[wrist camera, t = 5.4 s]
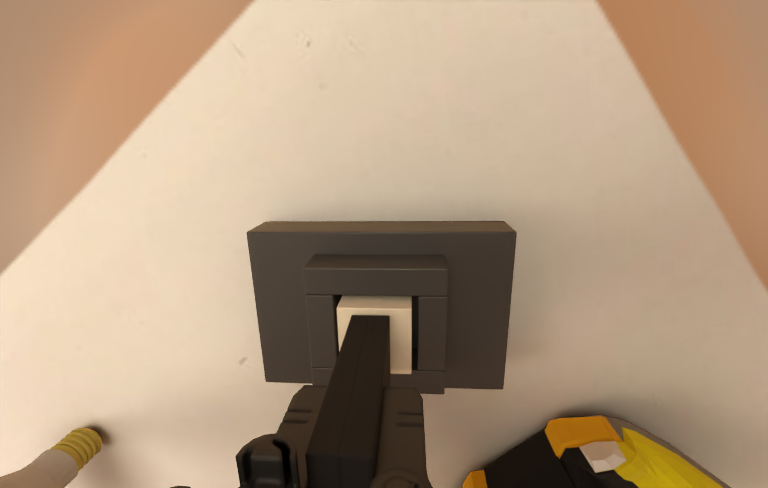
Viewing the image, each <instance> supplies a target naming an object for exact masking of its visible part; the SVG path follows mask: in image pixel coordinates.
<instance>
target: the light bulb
mask: <svg viewBox="0 0 768 488" xmlns="http://www.w3.org/2000/svg"><path fill="white" fill-rule="evenodd" d="M101 448H102V440H101V437H100V436H99V434H98V433H97V431H95V430H91V429H88V428H78V429H75V430H73V431H72V432H70V433H69V434H68V435H66V437H65V438H63V439H62V440H61V441H60V442H59V443H57V444H56V445H55V446H54V447H52V448H51V449H50V450H46V451H45V452H43V453H42V454H41V455H40V456H39V457H38V458H37V459H35V460H34V461H33V462H32V463H31V464H29V465H28V466H26V467H24V468H23V469H21V470H19V471H16V472H14V473H11V474H8V475H5V476H2V477H0V488H64V487H65V486H66V485H67V484H68V483H70V482H71V481H72V480H73V479H74V478H75V477H76V476H77V474H78V471H79V470H80V469H82V468H83V466H84V465H85V464H86V463H88V461H89V460H90V459H91V458H93V456H94V455H96V454H97V453H98V452H99V451H100V450H101Z"/></svg>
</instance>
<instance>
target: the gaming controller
mask: <svg viewBox="0 0 768 488" xmlns="http://www.w3.org/2000/svg"><path fill="white" fill-rule="evenodd" d="M462 488H731V487H729V486H728V485H727V484H725V483H724V482H722V481H721V480H720V479H718V478H717V477H715V476H714V475H713V474H711V473H710V472H708V471H707V470H706V469H704V468H703V467H701V466H700V465H699V464H697V463H696V462H694V461H693V460H691V459H690V458H689V457H687V456H686V455H684V454H683V453H682V452H680V451H679V450H677V449H676V448H675V447H673V446H672V445H670V444H669V443H667V442H665V441H663V440H662V439H660V438H658V437H656V436H654V435H652V434H650V433H648V432H646V431H644V430H642V429H640V428H638V427H636V426H635V425H633V424H631V423H629V422H626V421H623V420H620V419H616V418H608V417H606V416H603V415H594V416H587V417H573V418H559V419H554V420H549V422H548V424H547V427H546V429H545V430H542V431H541V432H539V433H537V434H536V435H534V436H533V437H531V438H530V439H528V440H527V441H525V442H524V443H522V444H520V445H519V446H517V447H516V448H514V449H513V450H511V451H510V452H508V453H507V454H505V455H503V456H502V457H500V458H499V459H497V460H496V461H494V462H493V463H491V464H490V465H488V466H486V467H485V468H484V470H479V471H471V472H470V474H469V475H468V477H467V478H466V480H465V482H464V484H463V486H462Z"/></svg>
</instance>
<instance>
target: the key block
mask: <svg viewBox="0 0 768 488" xmlns="http://www.w3.org/2000/svg"><path fill="white" fill-rule="evenodd" d="M516 234H517V233H516V231H515V230H513V229H512V228H511V227H510V226H509V225H508V224H506V223H505V222H504V221H362V222H264V223H262V224H261V225H259V226H257V227H255V228H253V229H252V230H250V231H248V232H247V239H248V247H249V254H250V262H251V270H252V278H253V285H254V293H255V301H256V309H257V317H258V324H259V332H260V340H261V348H262V356H263V363H264V371H265V379H266V382H283V383H313V385H317V386H328V384H329V381H330V378H331V375H332V372H333V369H334V366H335V363H336V360H337V357H338V355H339V340H338V323H337V306H338V304H339V302H340V299H341V297H342V295H396V296H412V373H411V374H391V376H390V387H416V389H417V391H418V392H419V394H444V390H445V388H470V389H501V390H502V389H503V385H504V373H505V361H506V350H507V338H508V327H509V315H510V304H511V292H512V281H513V269H514V257H515V246H516Z"/></svg>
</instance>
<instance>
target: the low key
mask: <svg viewBox="0 0 768 488" xmlns="http://www.w3.org/2000/svg"><path fill="white" fill-rule="evenodd" d="M352 315H388V316H390V372H391V374H411V373H412V296H396V295H342V297H341V299H340V302H339V304H338V306H337V323H338V340H339V352H340V349H341V346H342V343H343V340H344V337H345V334H346V331H347V328H348V325H349V322H350V319H351V316H352Z"/></svg>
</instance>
